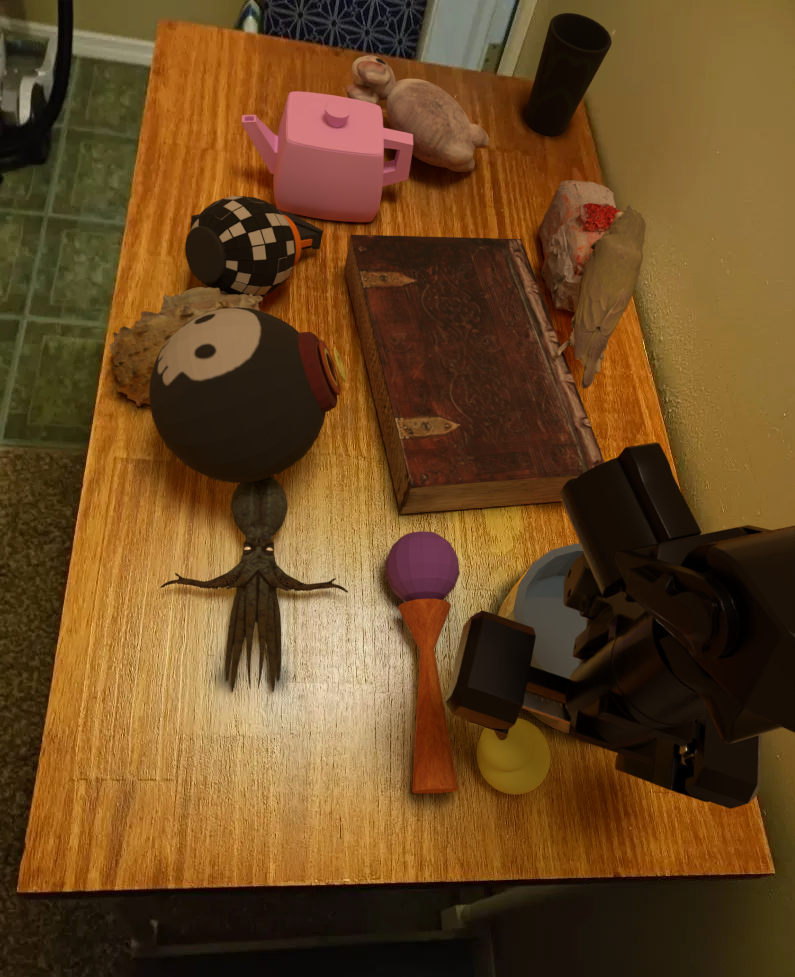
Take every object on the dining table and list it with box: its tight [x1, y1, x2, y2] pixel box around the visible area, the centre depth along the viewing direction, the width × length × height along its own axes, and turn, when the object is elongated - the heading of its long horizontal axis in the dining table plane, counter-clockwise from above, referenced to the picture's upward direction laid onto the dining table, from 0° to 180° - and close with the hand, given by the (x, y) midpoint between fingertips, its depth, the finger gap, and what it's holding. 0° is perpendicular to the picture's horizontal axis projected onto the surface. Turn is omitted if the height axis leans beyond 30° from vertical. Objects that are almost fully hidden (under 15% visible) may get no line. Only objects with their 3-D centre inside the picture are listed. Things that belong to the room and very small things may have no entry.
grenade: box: [184, 195, 324, 298], centre depth 79 cm, size 11×10×15 cm
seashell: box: [108, 286, 264, 407], centre depth 72 cm, size 11×15×10 cm
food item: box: [537, 179, 622, 314], centre depth 87 cm, size 14×8×10 cm, turn 5°
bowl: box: [497, 542, 587, 734], centre depth 66 cm, size 14×14×6 cm
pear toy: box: [476, 717, 552, 796], centre depth 59 cm, size 5×5×9 cm
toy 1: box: [149, 307, 347, 484], centre depth 63 cm, size 14×14×15 cm
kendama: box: [384, 530, 460, 794], centre depth 63 cm, size 6×6×20 cm
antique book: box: [344, 234, 606, 515], centre depth 78 cm, size 29×19×5 cm, turn 12°
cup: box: [524, 12, 613, 137], centre depth 101 cm, size 8×8×12 cm
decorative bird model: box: [556, 204, 647, 390], centre depth 78 cm, size 5×20×5 cm, turn 164°
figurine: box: [160, 476, 349, 693], centre depth 64 cm, size 14×6×18 cm
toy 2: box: [345, 54, 504, 212], centre depth 91 cm, size 28×7×15 cm
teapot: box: [241, 90, 413, 223], centre depth 86 cm, size 18×10×10 cm, turn 92°
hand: (555, 740), depth 56 cm, fingers open, 9 cm apart
